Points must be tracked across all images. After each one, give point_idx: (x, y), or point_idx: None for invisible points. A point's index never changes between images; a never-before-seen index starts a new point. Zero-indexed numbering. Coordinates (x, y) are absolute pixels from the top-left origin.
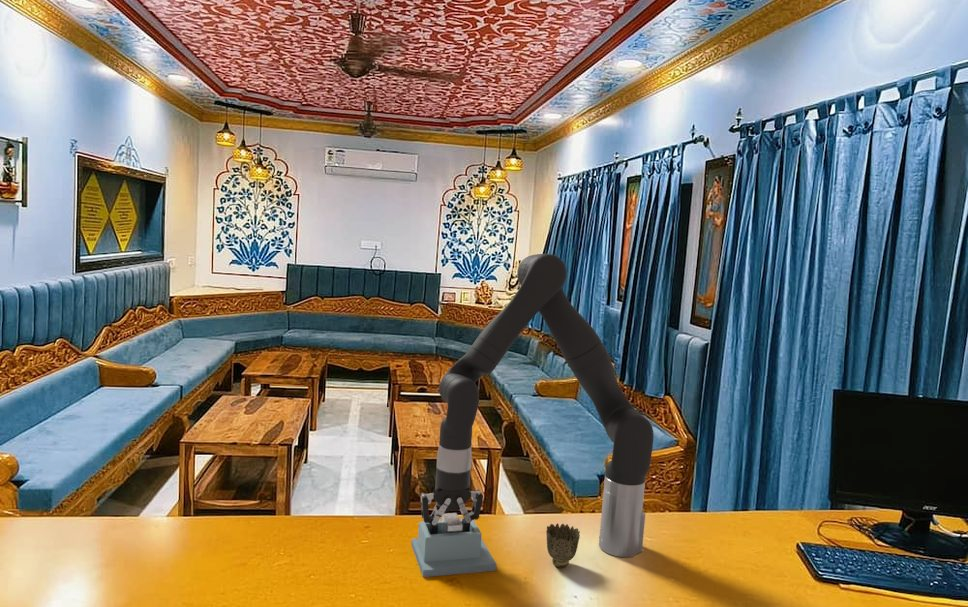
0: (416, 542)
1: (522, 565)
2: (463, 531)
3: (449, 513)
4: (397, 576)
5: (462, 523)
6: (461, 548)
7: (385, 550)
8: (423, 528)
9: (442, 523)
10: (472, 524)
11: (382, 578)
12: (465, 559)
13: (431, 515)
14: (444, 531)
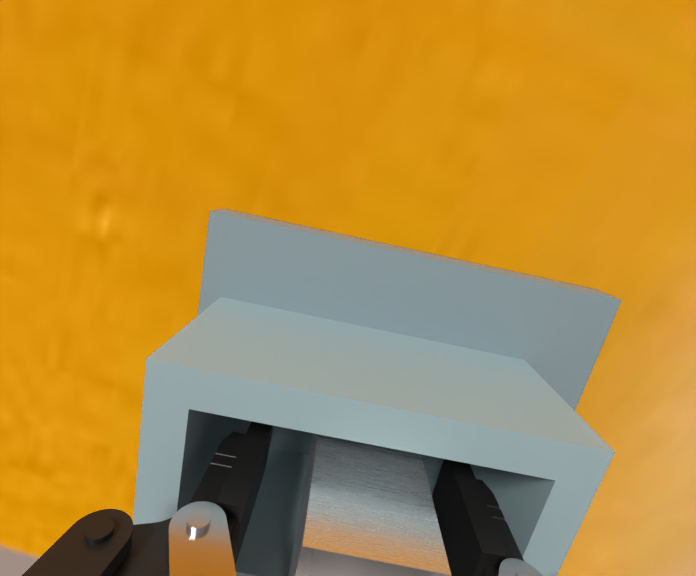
0: (223, 266)
1: (621, 548)
2: (443, 534)
3: (377, 564)
4: (87, 446)
5: (467, 538)
6: None
7: (72, 215)
8: (150, 472)
9: (306, 502)
10: (544, 537)
11: (22, 438)
12: None
13: (167, 565)
14: (293, 547)
